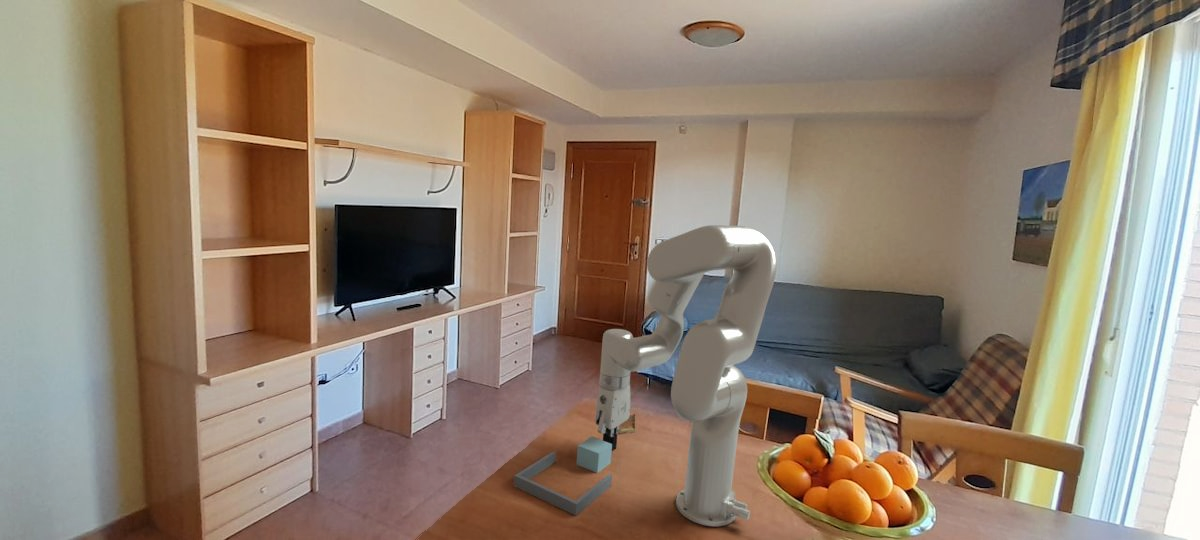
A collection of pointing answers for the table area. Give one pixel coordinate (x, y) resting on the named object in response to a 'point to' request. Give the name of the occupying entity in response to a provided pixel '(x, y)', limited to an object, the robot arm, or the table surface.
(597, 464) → the teal block
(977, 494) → the table surface
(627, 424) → the shard
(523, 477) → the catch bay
